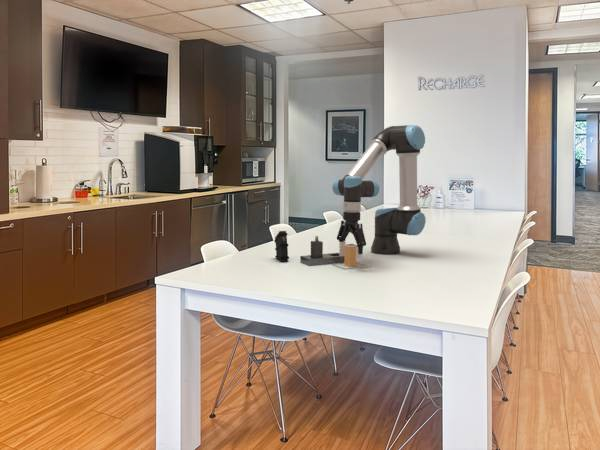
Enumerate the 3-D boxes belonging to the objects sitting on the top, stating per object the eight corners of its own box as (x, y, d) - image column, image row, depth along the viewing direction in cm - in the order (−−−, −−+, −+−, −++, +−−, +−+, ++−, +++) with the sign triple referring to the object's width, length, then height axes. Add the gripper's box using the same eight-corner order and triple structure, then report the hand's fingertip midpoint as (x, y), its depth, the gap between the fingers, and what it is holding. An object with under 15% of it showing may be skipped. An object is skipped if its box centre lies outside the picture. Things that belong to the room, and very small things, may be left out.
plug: (351, 265, 234) (352, 243, 233) (356, 267, 230) (357, 245, 229) (344, 266, 232) (344, 244, 231) (349, 268, 229) (349, 245, 227)
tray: (356, 263, 240) (356, 261, 240) (371, 268, 229) (371, 266, 229) (330, 266, 233) (330, 264, 233) (344, 271, 223) (344, 269, 223)
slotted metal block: (341, 260, 248) (341, 252, 247) (351, 263, 240) (351, 255, 239) (300, 264, 238) (300, 256, 237) (309, 268, 230) (309, 259, 229)
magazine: (282, 262, 235) (279, 230, 239) (276, 269, 247) (273, 239, 251) (290, 261, 236) (287, 230, 240) (284, 269, 248) (280, 239, 252)
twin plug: (318, 261, 239) (318, 235, 238) (322, 263, 236) (322, 236, 234) (310, 262, 237) (310, 235, 236) (314, 264, 234) (314, 237, 232)
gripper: (330, 209, 238) (328, 254, 240) (360, 214, 215) (358, 264, 218) (344, 208, 241) (342, 253, 243) (375, 213, 219) (373, 263, 221)
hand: (350, 258), depth 230 cm, fingers open, 13 cm apart
